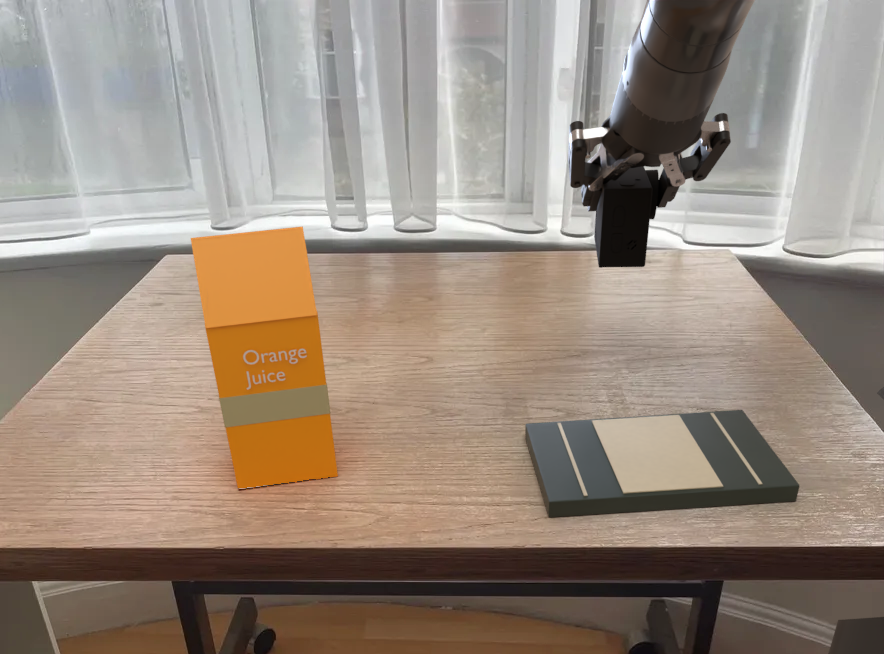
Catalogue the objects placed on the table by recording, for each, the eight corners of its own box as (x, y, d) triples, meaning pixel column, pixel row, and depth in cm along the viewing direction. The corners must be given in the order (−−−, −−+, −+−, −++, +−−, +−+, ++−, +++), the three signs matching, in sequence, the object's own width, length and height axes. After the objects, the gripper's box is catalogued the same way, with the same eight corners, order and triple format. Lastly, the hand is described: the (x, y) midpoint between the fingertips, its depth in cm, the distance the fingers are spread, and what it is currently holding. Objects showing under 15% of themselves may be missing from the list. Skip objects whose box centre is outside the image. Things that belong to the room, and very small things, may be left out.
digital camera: (658, 268, 83) (666, 186, 79) (598, 268, 84) (604, 188, 80) (648, 236, 92) (655, 161, 87) (594, 237, 92) (598, 163, 88)
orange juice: (234, 450, 83) (189, 225, 71) (328, 438, 85) (300, 214, 73) (237, 491, 77) (188, 252, 65) (339, 477, 79) (309, 239, 66)
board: (739, 424, 83) (742, 408, 82) (796, 501, 72) (800, 484, 71) (525, 437, 83) (525, 422, 82) (548, 517, 72) (549, 500, 71)
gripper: (583, 124, 69) (554, 241, 86) (768, 114, 69) (703, 232, 86) (575, 37, 70) (547, 169, 87) (757, 27, 71) (695, 161, 87)
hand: (625, 200), depth 86 cm, fingers closed on digital camera, 6 cm apart
